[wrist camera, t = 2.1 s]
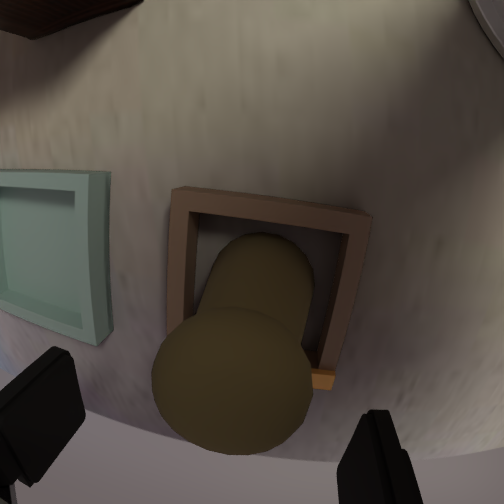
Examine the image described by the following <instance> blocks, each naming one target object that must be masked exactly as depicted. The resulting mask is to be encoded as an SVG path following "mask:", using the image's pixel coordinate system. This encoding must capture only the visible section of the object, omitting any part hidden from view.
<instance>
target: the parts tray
mask: <svg viewBox="0 0 504 504" xmlns="http://www.w3.org/2000/svg"><path fill="white" fill-rule="evenodd" d="M110 180H111V172H104V171H83V170H50V169H0V309H1V310H4V311H6V312H8V313H10V314H13V315H15V316H17V317H20V318H22V319H24V320H27V321H29V322H32V323H34V324H37V325H39V326H42V327H44V328H47V329H49V330H52V331H54V332H57V333H60V334H63V335H65V336H68V337H71V338H74V339H76V340H79V341H82V342H85V343H88V344H91V345H94V346H98V345H99V344H100V343H101V342H102V341H103V340H104V339H105V338H106V337H107V336H108V335H109V334H110V333H111V332H112V331H113V318H112V305H111V289H110V265H109V204H110Z"/></svg>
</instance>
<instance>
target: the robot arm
mask: <svg viewBox="0 0 504 504" xmlns="http://www.w3.org/2000/svg"><path fill="white" fill-rule="evenodd" d="M468 1H469V3H470V5H471V7H472V10H473V12H474V14H475V16H476V18H477V19H478V21H479V23H480V25H481V27H482V29H483V30H484V32H485V33H486V35H487V36H488V38H489V39H490V41H491V42H492V44H493V45H494V47H495V48H496V49H497V51H498V52H499V53H500V54H501V56H502V57H503V58H504V0H468ZM85 416H86V413H85V409H84V405H83V401H82V397H81V393H80V388H79V384H78V379H77V374H76V369H75V364H74V360H73V358H72V357H71V355H70V353H69V352H68V351H66V350H64V349H61V348H58V347H56V346H53V347H51V348H50V349H49V350H47V351H46V352H45V353H44V354H43V355H41V356H40V357H39V358H38V359H37V360H35V361H34V362H33V363H32V364H31V365H30V366H28V367H27V368H26V369H25V370H24V371H23V372H21V373H20V374H19V375H18V376H17V377H16V378H15V379H13V380H12V381H11V382H10V383H9V384H8V385H6V386H5V387H4V388H3V389H2V390H1V391H0V504H17V498H16V492H15V484H14V482H15V481H16V480H17V479H18V480H19V481H21V482H22V483H24V484H25V485H27V486H29V487H31V486H32V485H33V483H37V482H39V481H40V479H41V478H42V477H43V475H44V474H45V473H46V471H47V470H48V468H49V467H50V466H51V464H52V463H53V462H54V460H55V459H56V458H57V456H58V455H59V453H60V452H61V451H62V450H63V448H64V447H65V446H66V444H67V443H68V442H69V440H70V439H71V438H72V437H73V435H74V434H75V433H76V431H77V430H78V428H79V427H80V426H81V425H82V423H83V422H84V420H85ZM337 485H338V497H339V504H423V501H422V497H421V494H420V490H419V487H418V484H417V480H416V477H415V474H414V470H413V467H412V464H411V461H410V458H409V455H408V453H407V451H406V450H405V449H401V446H400V443H399V439H398V436H397V433H396V430H395V427H394V424H393V421H392V418H391V415H390V412H389V411H388V410H369V411H368V413H367V414H363V415H362V416H361V418H360V421H359V423H358V425H357V427H356V430H355V432H354V434H353V436H352V438H351V440H350V443H349V445H348V447H347V449H346V451H345V453H344V455H343V457H342V459H341V461H340V463H339V465H338V468H337Z"/></svg>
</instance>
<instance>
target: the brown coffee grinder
mask: <svg viewBox="0 0 504 504" xmlns="http://www.w3.org/2000/svg"><path fill="white" fill-rule="evenodd" d="M140 1H142V0H0V30H2V31H6V32H9V33H13V34H16V35H20V36H23V37H26V38H28V39H30V40H34V39H37V38H40V37H43V36H46V35H49V34H52V33H55V32H57V31H60V30H62V29H65V28H67V27H70V26H72V25H75V24H78V23H81V22H84V21H86V20H89V19H92V18H95V17H98V16H102V15H105V14H108V13H111V12H114V11H118V10H121V9H125V8H128V7H131V6H133V5H135V4H137V3H138V2H140Z"/></svg>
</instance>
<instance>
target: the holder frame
mask: <svg viewBox="0 0 504 504" xmlns="http://www.w3.org/2000/svg"><path fill="white" fill-rule="evenodd" d="M199 213H208V214H216V215H223V216H231V217H238V218H245V219H253V220H260V221H267V222H274V223H281V224H287V225H294V226H301V227H307V228H314V229H320V230H327V231H333V232H339V233H343V234H342V239H341V245H340V250H339V255H338V260H337V265H336V270H335V275H334V280H333V285H332V289H331V294H330V298H329V303H328V307H327V312H326V316H325V320H324V324H323V329H322V333H321V337H320V341H319V345H318V349H317V351H310V350H304V352H305V354H306V356H307V358H308V360H309V362H310V364H311V373H312V384H313V389H322V390H331V389H332V386H333V383H334V380H335V377H336V375H335V369H336V366H337V363H338V359H339V356H340V353H341V349H342V346H343V343H344V339H345V335H346V332H347V328H348V325H349V321H350V317H351V313H352V309H353V306H354V302H355V298H356V294H357V289H358V285H359V281H360V277H361V272H362V268H363V263H364V259H365V254H366V249H367V245H368V240H369V234H370V229H371V224H372V219H373V217H371V216H370V215H369V214H367V213H366V212H365V211H360V210H354V209H348V208H343V207H337V206H330V205H324V204H318V203H312V202H305V201H298V200H292V199H285V198H278V197H271V196H263V195H256V194H248V193H240V192H232V191H224V190H215V189H206V188H197V187H187V186H184V187H180V188H175V189H172V193H171V208H170V224H169V243H168V270H167V336H168V335H169V334H170V333H171V332H172V331H173V330H174V329H175V328H176V327H177V326H178V325H179V324H181V323H182V322H183V321H184V320H186V319H188V318H190V317H191V316H193V305H194V285H195V268H196V253H197V239H198V226H199Z"/></svg>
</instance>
